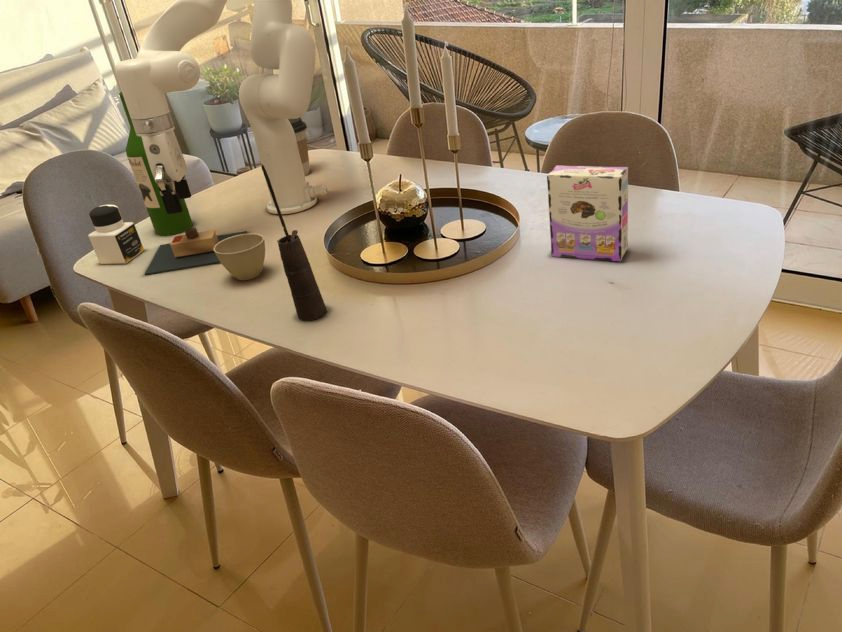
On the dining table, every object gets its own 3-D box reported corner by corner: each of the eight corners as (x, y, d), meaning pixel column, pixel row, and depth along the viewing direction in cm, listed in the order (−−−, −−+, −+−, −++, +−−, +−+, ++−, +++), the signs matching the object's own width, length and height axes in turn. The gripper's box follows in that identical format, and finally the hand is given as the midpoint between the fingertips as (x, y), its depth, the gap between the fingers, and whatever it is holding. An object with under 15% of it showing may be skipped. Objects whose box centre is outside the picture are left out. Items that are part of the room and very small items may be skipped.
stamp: (219, 243, 158) (212, 221, 155) (216, 252, 154) (209, 230, 151) (179, 250, 157) (171, 228, 155) (175, 259, 153) (167, 236, 150)
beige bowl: (282, 265, 145) (273, 233, 141) (255, 287, 137) (245, 254, 133) (242, 263, 148) (232, 232, 144) (213, 284, 140) (202, 252, 136)
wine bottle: (147, 234, 169) (95, 97, 152) (173, 220, 176) (125, 87, 159) (175, 236, 166) (125, 96, 149) (200, 222, 173) (155, 86, 156)
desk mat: (247, 232, 163) (246, 230, 163) (239, 259, 150) (238, 258, 150) (160, 246, 162) (160, 244, 162) (145, 275, 148) (144, 273, 148)
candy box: (628, 250, 133) (630, 165, 124) (620, 263, 128) (621, 176, 120) (559, 244, 138) (556, 163, 130) (550, 256, 134) (545, 173, 125)
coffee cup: (271, 181, 195) (256, 127, 187) (286, 168, 205) (273, 116, 197) (308, 179, 193) (296, 125, 185) (322, 166, 202) (310, 113, 194)
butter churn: (310, 295, 131) (272, 148, 117) (350, 303, 127) (315, 151, 112) (277, 318, 125) (232, 166, 110) (317, 327, 120) (275, 169, 106)
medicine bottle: (126, 264, 155) (105, 213, 149) (99, 264, 157) (77, 214, 150) (145, 250, 161) (125, 201, 154) (118, 250, 162) (98, 202, 156)
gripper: (163, 131, 134) (190, 216, 142) (180, 113, 148) (204, 190, 157) (123, 137, 133) (153, 221, 142) (144, 117, 148) (170, 195, 156)
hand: (179, 205), depth 149 cm, fingers open, 9 cm apart
